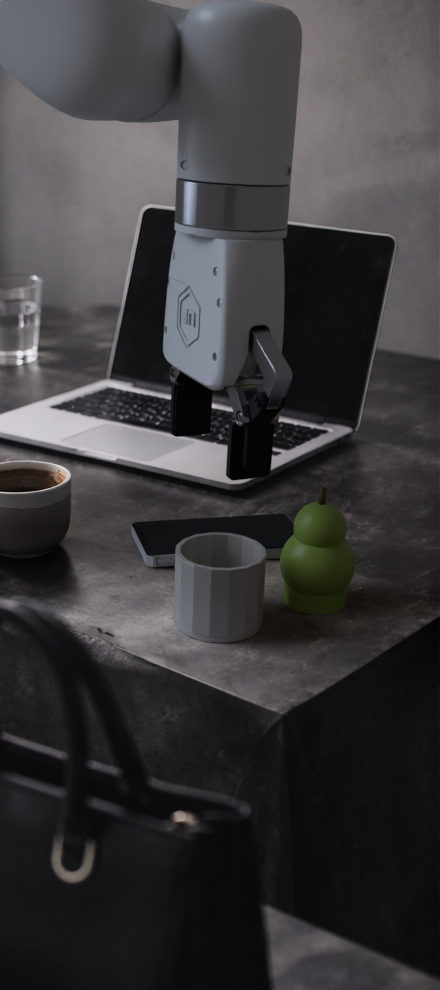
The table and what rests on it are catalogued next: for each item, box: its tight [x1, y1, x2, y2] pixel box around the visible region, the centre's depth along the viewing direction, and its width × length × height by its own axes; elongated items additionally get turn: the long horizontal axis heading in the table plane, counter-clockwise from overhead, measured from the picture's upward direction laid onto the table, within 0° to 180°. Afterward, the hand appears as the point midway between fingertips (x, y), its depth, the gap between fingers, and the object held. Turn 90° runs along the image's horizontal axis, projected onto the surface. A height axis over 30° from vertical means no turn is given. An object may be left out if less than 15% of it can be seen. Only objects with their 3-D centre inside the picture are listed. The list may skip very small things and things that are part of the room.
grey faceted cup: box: [173, 532, 267, 644], centre depth 75 cm, size 7×7×6 cm
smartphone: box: [130, 513, 294, 568], centre depth 89 cm, size 8×1×15 cm
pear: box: [279, 485, 356, 616], centre depth 78 cm, size 6×6×10 cm
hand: (217, 454), depth 71 cm, fingers open, 9 cm apart
